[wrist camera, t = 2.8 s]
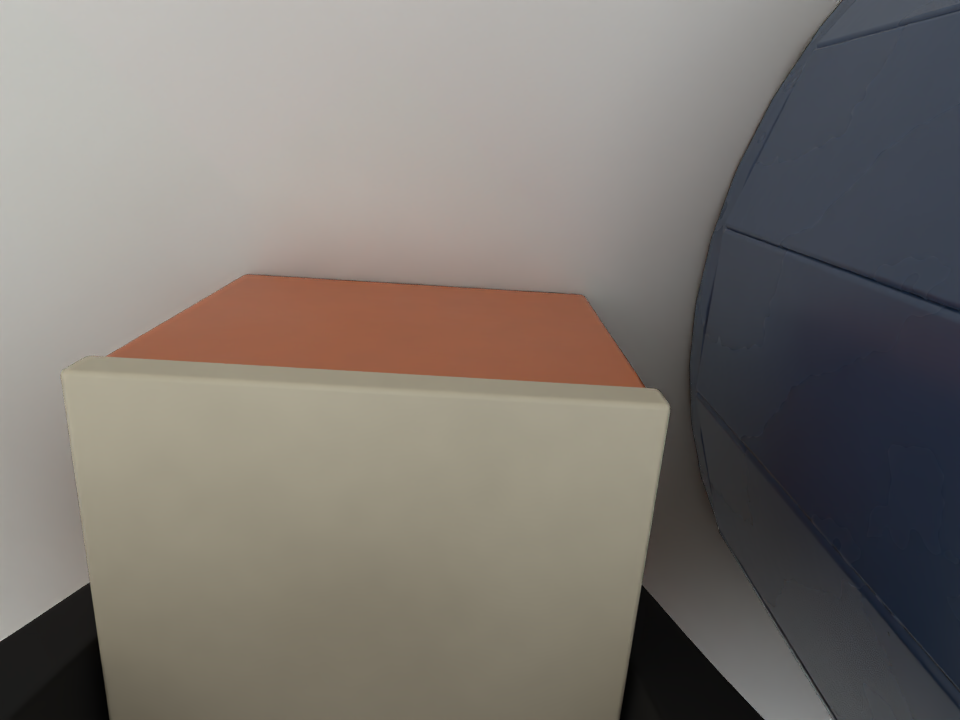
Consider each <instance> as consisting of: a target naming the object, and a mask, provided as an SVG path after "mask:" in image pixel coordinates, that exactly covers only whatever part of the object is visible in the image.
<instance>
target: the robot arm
mask: <svg viewBox="0 0 960 720" xmlns="http://www.w3.org/2000/svg"><path fill="white" fill-rule="evenodd" d="M0 720H110V719H109V712H108V705H107V698H106V691H105V684H104V677H103V670H102V663H101V656H100V649H99V642H98V635H97V628H96V621H95V614H94V607H93V600H92V593H91V586H90V583H88V584H87V585H85V586H84V587H82V588H81V589H79V590H78V591H76V592H75V593H73V594H72V595H70V596H69V597H67V598H66V599H64V600H63V601H61V602H60V603H58V604H57V605H55V606H54V607H52V608H51V609H49V610H48V611H46V612H45V613H43V614H42V615H40V616H39V617H37V618H36V619H34V620H33V621H31V622H30V623H28V624H27V625H25V626H24V627H22V628H21V629H19V630H18V631H16V632H14V633H13V634H11V635H10V636H8V637H7V638H5V639H4V640H2V641H1V642H0ZM620 720H764V719H763V718H762V717H761V716H760V715H759V714H758V713H757V712H756V711H755V709H754V708H753V707H752V706H751V705H750V704H749V703H748V702H747V701H746V700H745V699H744V698H743V697H742V696H741V695H740V694H739V693H738V691H737V690H736V689H735V688H734V687H733V686H732V685H731V684H730V683H729V682H728V681H727V680H726V679H725V678H724V677H723V676H722V674H721V673H720V672H719V671H718V670H717V669H716V668H715V667H714V666H713V665H712V663H711V662H710V661H709V660H708V659H707V658H706V657H705V656H704V655H703V654H702V652H701V651H700V650H699V649H698V648H697V647H696V646H695V645H694V643H693V642H692V641H691V640H690V639H689V638H688V637H687V636H686V634H685V633H684V632H683V631H682V630H681V629H680V628H679V626H678V625H677V624H676V623H675V622H674V621H673V620H672V618H671V617H670V616H669V615H668V614H667V613H666V612H665V610H664V609H663V608H662V607H661V606H660V605H659V604H658V602H657V601H656V600H655V599H654V598H653V597H652V596H651V595H650V593H649V592H648V591H647V590H646V589H645V588H644V587H643V585H642V586H641V592H640V598H639V604H638V610H637V616H636V623H635V629H634V635H633V641H632V647H631V653H630V659H629V665H628V671H627V677H626V683H625V689H624V696H623V702H622V708H621V714H620Z"/></svg>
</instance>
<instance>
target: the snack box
mask: <svg viewBox="0 0 960 720" xmlns="http://www.w3.org/2000/svg"><path fill="white" fill-rule="evenodd" d="M61 382H62V389H63V396H64V404H65V411H66V418H67V425H68V432H69V439H70V446H71V453H72V460H73V467H74V474H75V481H76V488H77V495H78V502H79V509H80V516H81V523H82V530H83V537H84V544H85V551H86V558H87V565H88V572H89V579H90V586H91V593H92V600H93V607H94V614H95V621H96V628H97V635H98V642H99V649H100V656H101V663H102V670H103V677H104V684H105V691H106V698H107V705H108V712H109V719H110V720H620V714H621V708H622V702H623V696H624V689H625V683H626V677H627V671H628V665H629V659H630V653H631V647H632V641H633V635H634V629H635V623H636V616H637V610H638V604H639V598H640V592H641V586H642V580H643V574H644V568H645V562H646V556H647V550H648V544H649V537H650V531H651V525H652V519H653V513H654V507H655V501H656V495H657V489H658V483H659V477H660V471H661V464H662V458H663V452H664V446H665V440H666V434H667V428H668V422H669V416H670V410H671V408H670V405H669V403H668V402H667V400H666V399H665V398H664V396H663V395H662V394H661V392H660V391H659V390H657V389H655V388H646V387H645V386H644V384H643V383H642V381H641V380H640V378H639V377H638V375H637V374H636V372H635V371H634V369H633V368H632V366H631V365H630V363H629V362H628V360H627V359H626V357H625V356H624V354H623V353H622V351H621V350H620V348H619V347H618V345H617V344H616V342H615V341H614V339H613V338H612V336H611V335H610V334H609V332H608V331H607V329H606V328H605V326H604V325H603V323H602V322H601V320H600V319H599V317H598V316H597V314H596V313H595V311H594V310H593V308H592V307H591V305H590V304H589V302H588V301H587V299H586V298H585V296H583V295H576V294H560V293H543V292H527V291H510V290H494V289H478V288H461V287H445V286H429V285H412V284H396V283H379V282H363V281H347V280H330V279H314V278H297V277H281V276H265V275H248V274H246V275H244V276H242V277H240V278H238V279H237V280H235V281H233V282H231V283H230V284H228V285H226V286H225V287H223V288H221V289H220V290H218V291H216V292H214V293H213V294H211V295H209V296H208V297H206V298H204V299H203V300H201V301H199V302H197V303H196V304H194V305H192V306H191V307H189V308H187V309H186V310H184V311H182V312H180V313H179V314H177V315H175V316H174V317H172V318H170V319H169V320H167V321H165V322H163V323H162V324H160V325H158V326H157V327H155V328H153V329H152V330H150V331H148V332H146V333H145V334H143V335H141V336H140V337H138V338H136V339H135V340H133V341H131V342H129V343H128V344H126V345H124V346H123V347H121V348H119V349H118V350H116V351H114V352H112V353H111V354H109V355H107V356H106V357H104V356H87V357H84V358H83V359H81V360H79V361H77V362H76V363H74V364H72V365H70V366H68V367H67V368H65V369H63V370H62V372H61Z"/></svg>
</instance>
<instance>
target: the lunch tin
mask: <svg viewBox="0 0 960 720" xmlns="http://www.w3.org/2000/svg"><path fill="white" fill-rule="evenodd" d="M690 386H691V414H692V428H693V433H694V439H695V444H696V449H697V455H698V460H699V466H700V471H701V476H702V480H703V483H704V486H705V489H706V492H707V495H708V497H709V500H710V503H711V506H712V509H713V512H714V515H715V517H716V521H717V526H718V527H719V533H720V534H721V536H722V538H723V539H724V541H725V543H726V544H727V546H728V548H729V549H730V551H731V553H732V554H733V556H734V558H735V559H736V561H737V563H738V564H739V566H740V568H741V569H742V571H743V573H744V574H745V576H746V578H747V579H748V581H749V583H750V584H751V586H752V588H753V589H754V591H755V593H756V594H757V596H758V598H759V599H760V601H761V603H762V604H763V606H764V608H765V609H766V611H767V613H768V614H769V616H770V618H771V619H772V621H773V623H774V624H775V626H776V628H777V629H778V631H779V633H780V634H781V636H782V637H783V639H784V641H785V642H786V644H787V646H788V647H789V649H790V651H791V652H792V654H793V655H794V657H795V659H796V660H797V662H798V664H799V665H800V667H801V669H802V670H803V672H804V673H805V675H806V677H807V678H808V680H809V682H810V683H811V685H812V687H813V688H814V690H815V691H816V693H817V695H818V696H819V698H820V700H821V701H822V703H823V705H824V706H825V708H826V709H827V711H828V713H829V714H830V716H831V718H832V719H833V720H960V0H843V1H842V2H841V3H840V4H839V6H838V7H837V8H836V9H835V10H834V12H833V13H832V14H831V15H830V16H829V18H828V19H827V20H826V21H825V22H824V24H823V25H822V26H821V27H820V28H819V30H818V31H817V33H816V34H815V36H814V37H813V39H812V40H811V42H810V43H809V45H808V46H807V48H806V49H805V51H804V52H803V54H802V55H801V57H800V59H799V60H798V62H797V63H796V65H795V66H794V68H793V69H792V71H791V72H790V74H789V75H788V77H787V78H786V80H785V81H784V83H783V84H782V86H781V87H780V89H779V90H778V92H777V93H776V95H775V96H774V98H773V100H772V102H771V103H770V105H769V107H768V109H767V111H766V113H765V115H764V117H763V119H762V121H761V123H760V125H759V127H758V129H757V131H756V133H755V135H754V137H753V139H752V141H751V143H750V144H749V146H748V148H747V150H746V152H745V154H744V156H743V158H742V160H741V162H740V164H739V166H738V168H737V171H736V173H735V176H734V179H733V181H732V184H731V187H730V189H729V192H728V195H727V197H726V200H725V203H724V206H723V208H722V211H721V214H720V216H719V219H718V222H717V224H716V227H715V230H714V232H713V235H712V238H711V243H710V247H709V251H708V255H707V259H706V264H705V268H704V272H703V276H702V281H701V285H700V289H699V293H698V297H697V302H696V310H695V319H694V329H693V339H692V349H691V359H690Z"/></svg>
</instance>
